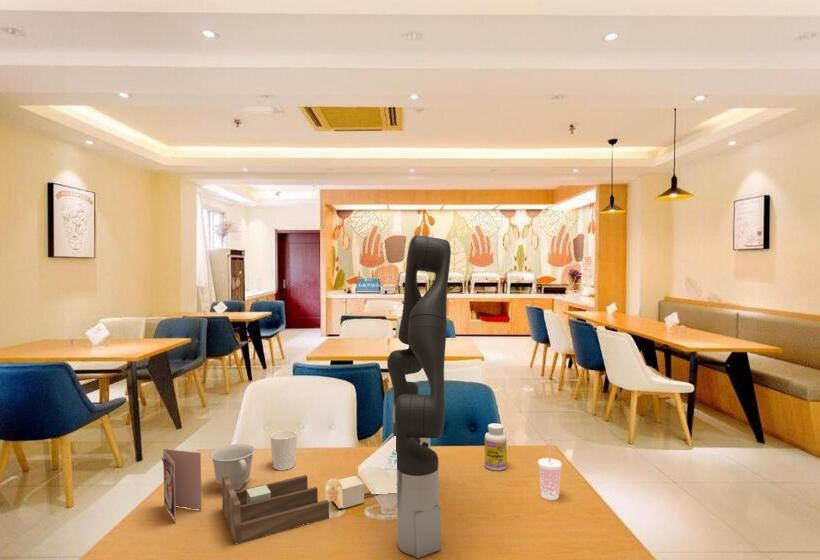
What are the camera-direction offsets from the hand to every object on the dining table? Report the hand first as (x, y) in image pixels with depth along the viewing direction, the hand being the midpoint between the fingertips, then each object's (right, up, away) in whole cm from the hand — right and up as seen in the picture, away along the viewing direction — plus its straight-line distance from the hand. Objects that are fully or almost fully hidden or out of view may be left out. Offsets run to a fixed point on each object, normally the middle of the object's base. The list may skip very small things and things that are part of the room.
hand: (407, 480), depth 133 cm
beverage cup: (+38, -2, -6) cm, 39 cm away
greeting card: (-58, -3, -13) cm, 59 cm away
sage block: (-38, -2, -12) cm, 40 cm away
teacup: (-48, -2, 0) cm, 49 cm away
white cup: (-39, -2, +15) cm, 41 cm away
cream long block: (-9, -1, -5) cm, 10 cm away
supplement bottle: (+27, -1, +13) cm, 30 cm away
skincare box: (+4, -2, +19) cm, 19 cm away
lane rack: (-33, -2, -15) cm, 36 cm away
